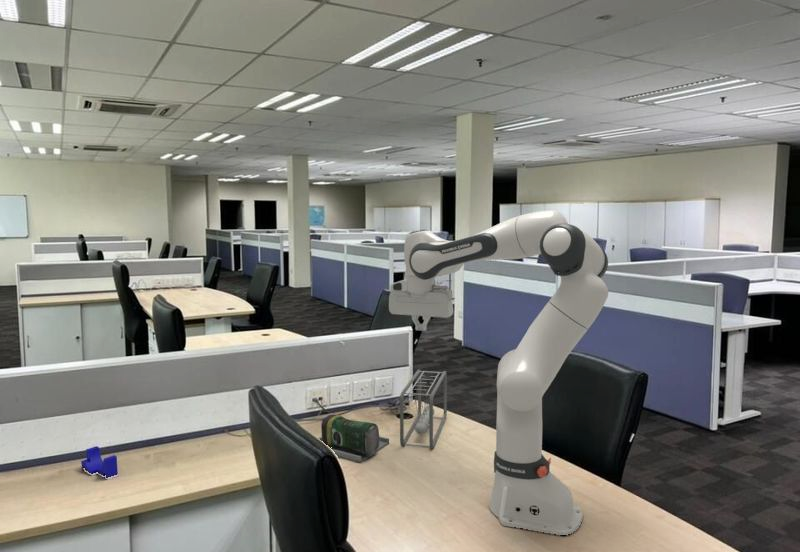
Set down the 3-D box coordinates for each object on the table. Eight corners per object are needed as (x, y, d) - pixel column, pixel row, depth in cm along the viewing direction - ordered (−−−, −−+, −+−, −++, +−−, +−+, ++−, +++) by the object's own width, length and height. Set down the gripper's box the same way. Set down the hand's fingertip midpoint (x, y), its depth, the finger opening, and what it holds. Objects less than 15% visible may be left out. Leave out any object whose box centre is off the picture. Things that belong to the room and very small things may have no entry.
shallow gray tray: (389, 443, 183) (389, 438, 183) (360, 463, 169) (359, 457, 169) (338, 431, 193) (338, 426, 193) (307, 449, 179) (307, 443, 179)
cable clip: (82, 471, 166) (80, 451, 165) (97, 465, 169) (96, 446, 169) (101, 482, 159) (100, 462, 158) (117, 476, 162) (116, 456, 162)
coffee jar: (380, 420, 175) (332, 409, 185) (365, 431, 168) (316, 418, 178) (381, 449, 177) (334, 437, 187) (366, 461, 170) (318, 447, 180)
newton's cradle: (418, 415, 209) (418, 368, 207) (446, 417, 206) (447, 369, 204) (399, 448, 180) (399, 393, 178) (432, 451, 177) (432, 396, 175)
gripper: (456, 284, 168) (457, 330, 169) (395, 282, 178) (397, 326, 180) (447, 287, 163) (448, 335, 164) (385, 284, 173) (387, 329, 174)
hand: (421, 330), depth 172 cm, fingers closed
